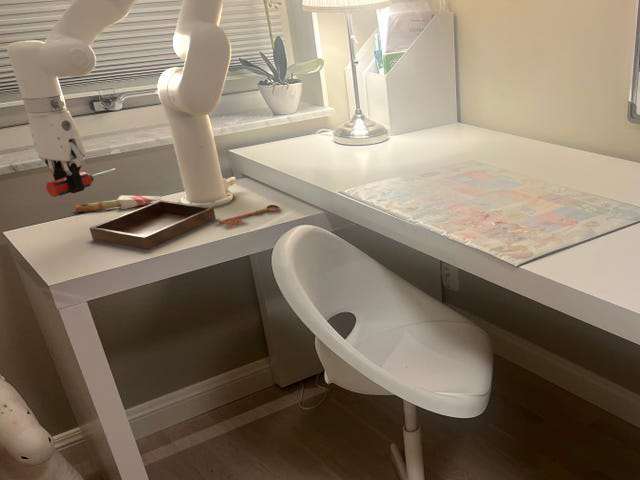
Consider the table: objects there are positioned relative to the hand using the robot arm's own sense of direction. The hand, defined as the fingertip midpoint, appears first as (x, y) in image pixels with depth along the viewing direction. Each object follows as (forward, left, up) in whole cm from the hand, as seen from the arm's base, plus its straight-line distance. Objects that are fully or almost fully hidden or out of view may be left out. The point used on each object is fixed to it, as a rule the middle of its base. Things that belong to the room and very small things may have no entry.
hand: (71, 189), depth 162 cm
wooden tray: (-6, +16, -10) cm, 20 cm away
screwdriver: (-4, 0, 0) cm, 4 cm away
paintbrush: (-15, -5, -10) cm, 19 cm away
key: (-21, +31, -10) cm, 39 cm away
